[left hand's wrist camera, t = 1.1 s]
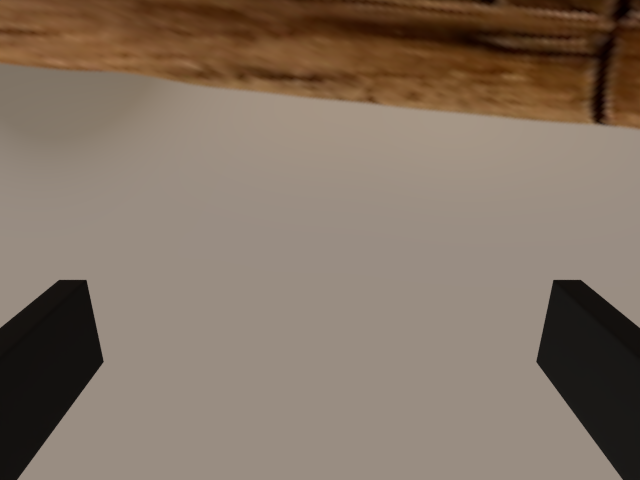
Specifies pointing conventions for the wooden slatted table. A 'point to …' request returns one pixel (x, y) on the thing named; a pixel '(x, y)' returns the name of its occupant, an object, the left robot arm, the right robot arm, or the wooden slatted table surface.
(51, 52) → the wooden slatted table surface
